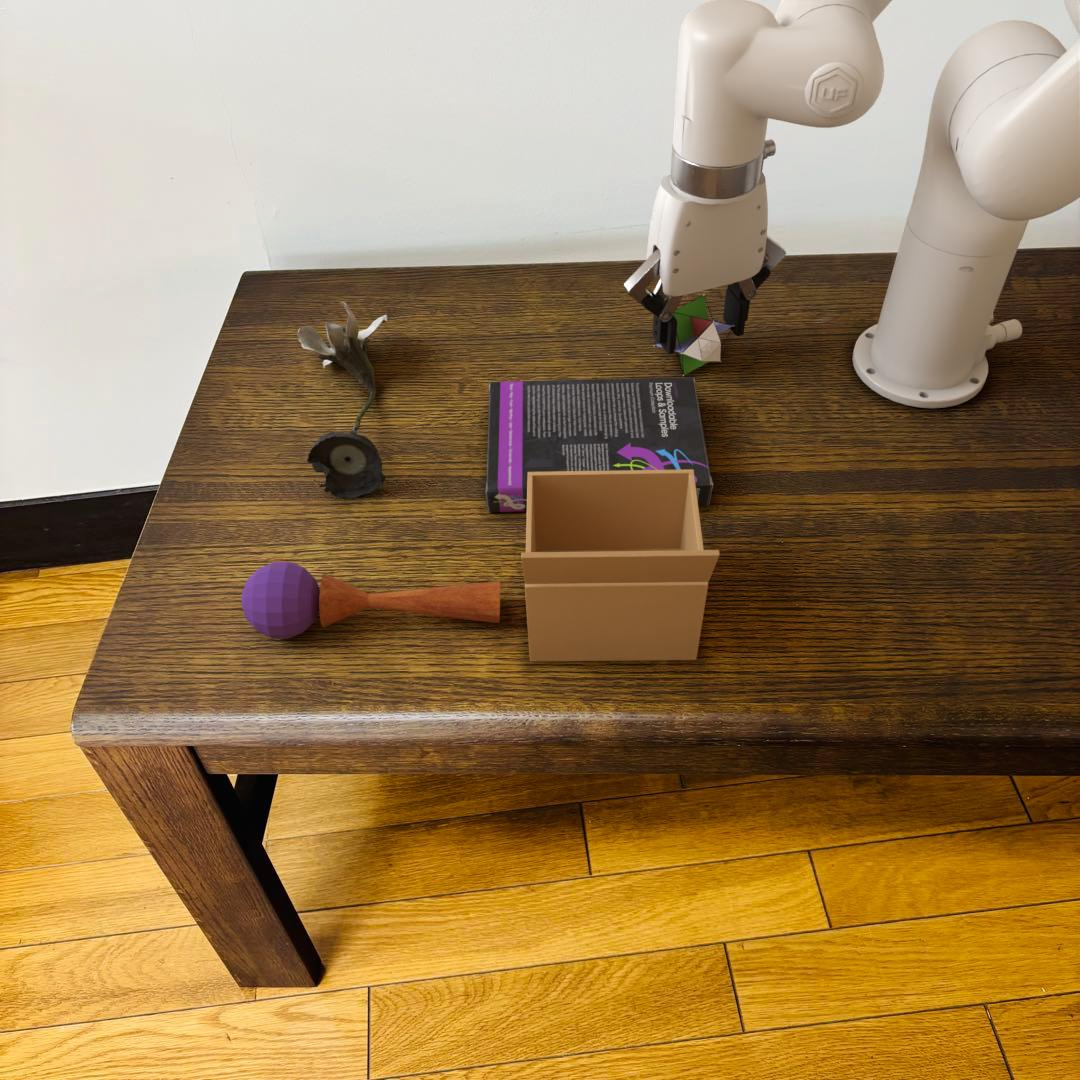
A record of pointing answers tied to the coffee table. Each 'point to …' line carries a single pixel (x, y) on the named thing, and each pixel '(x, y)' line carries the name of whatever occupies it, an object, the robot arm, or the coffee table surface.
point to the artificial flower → (353, 455)
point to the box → (591, 432)
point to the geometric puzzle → (697, 336)
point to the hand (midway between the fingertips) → (699, 335)
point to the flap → (618, 566)
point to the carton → (613, 525)
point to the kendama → (350, 600)
